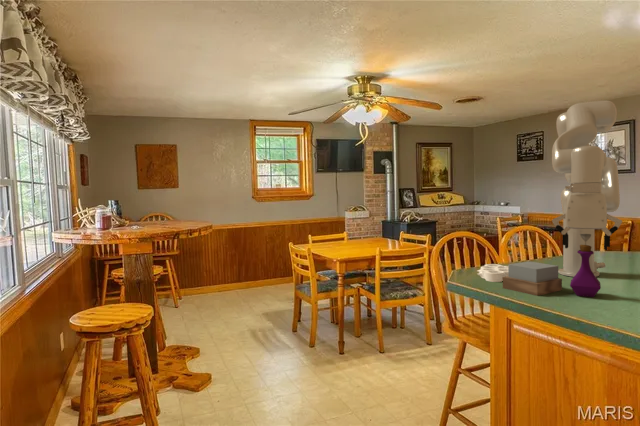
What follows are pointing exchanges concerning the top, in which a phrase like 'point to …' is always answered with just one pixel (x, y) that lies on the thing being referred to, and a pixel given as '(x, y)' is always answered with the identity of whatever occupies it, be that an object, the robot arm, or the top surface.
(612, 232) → the robot arm
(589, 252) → the perfume bottle
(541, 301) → the top surface
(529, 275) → the tower top
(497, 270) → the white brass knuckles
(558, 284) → the tower bottom
